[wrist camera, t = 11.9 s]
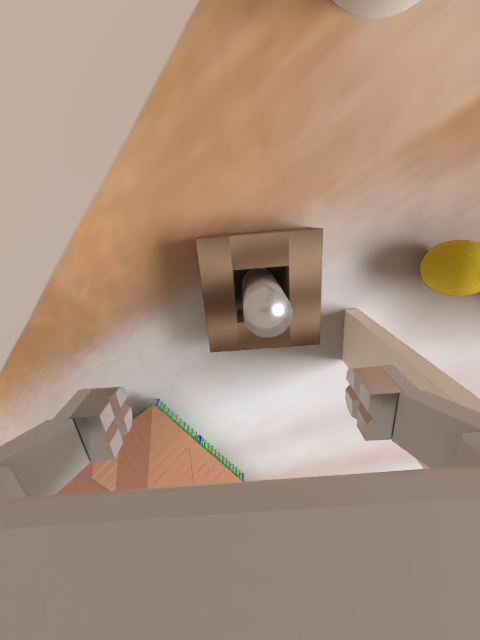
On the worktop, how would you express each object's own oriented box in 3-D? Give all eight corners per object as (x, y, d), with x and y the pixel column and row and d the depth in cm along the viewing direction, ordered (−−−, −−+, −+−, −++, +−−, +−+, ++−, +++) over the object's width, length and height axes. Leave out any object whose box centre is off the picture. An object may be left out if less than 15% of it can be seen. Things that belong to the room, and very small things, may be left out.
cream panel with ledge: (252, 316, 33) (328, 825, 5) (357, 308, 33) (1024, 800, 5) (257, 390, 37) (316, 916, 9) (351, 384, 37) (712, 905, 9)
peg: (240, 269, 31) (241, 293, 21) (274, 266, 31) (292, 288, 21) (243, 302, 33) (245, 339, 22) (275, 299, 33) (293, 335, 22)
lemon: (418, 232, 30) (478, 236, 23) (462, 244, 31) (536, 251, 23) (397, 280, 32) (446, 298, 24) (439, 290, 32) (500, 311, 25)
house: (145, 376, 37) (121, 417, 29) (287, 504, 46) (297, 560, 38) (43, 458, 42) (0, 511, 34) (189, 559, 51) (181, 619, 43)
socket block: (202, 236, 30) (195, 239, 25) (309, 227, 30) (322, 228, 25) (214, 334, 34) (210, 352, 30) (308, 327, 34) (319, 344, 29)
